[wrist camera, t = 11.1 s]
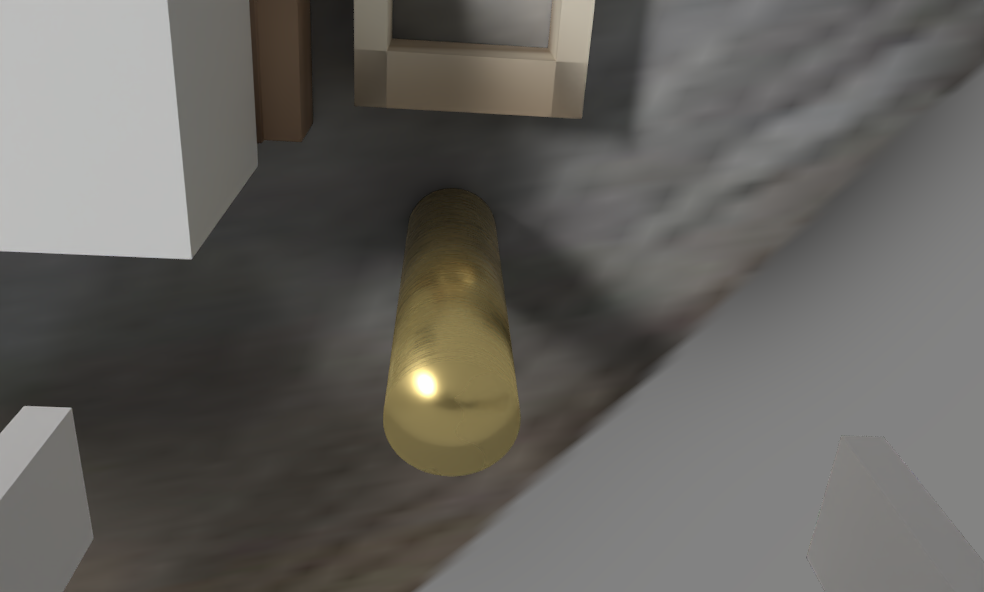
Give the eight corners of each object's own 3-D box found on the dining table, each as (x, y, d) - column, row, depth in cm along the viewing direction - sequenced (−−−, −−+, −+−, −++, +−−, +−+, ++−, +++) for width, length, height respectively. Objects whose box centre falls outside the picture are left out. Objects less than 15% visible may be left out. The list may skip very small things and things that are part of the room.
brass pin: (409, 185, 24) (383, 358, 15) (498, 190, 24) (526, 364, 15) (406, 268, 25) (382, 474, 16) (492, 272, 26) (514, 477, 17)
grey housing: (-48, -170, 18) (-268, -198, 12) (241, -148, 18) (151, -166, 13) (11, 153, 21) (-144, 244, 15) (258, 166, 21) (191, 259, 16)
